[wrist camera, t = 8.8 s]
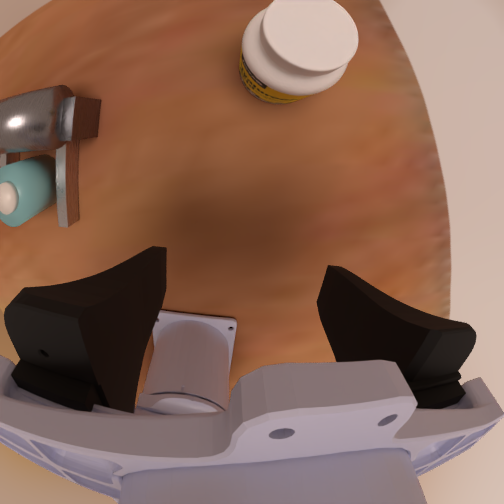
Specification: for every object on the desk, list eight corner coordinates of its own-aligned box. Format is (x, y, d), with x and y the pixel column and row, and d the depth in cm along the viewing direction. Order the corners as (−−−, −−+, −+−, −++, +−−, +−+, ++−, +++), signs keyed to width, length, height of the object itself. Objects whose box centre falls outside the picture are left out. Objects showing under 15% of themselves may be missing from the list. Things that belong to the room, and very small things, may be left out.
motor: (96, 220, 20) (56, 254, 14) (6, 213, 19) (-35, 238, 13) (102, 89, 16) (56, 80, 10) (5, 106, 14) (-41, 111, 9)
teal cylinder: (65, 206, 20) (29, 229, 15) (28, 207, 19) (-8, 229, 14) (62, 151, 18) (21, 163, 13) (24, 157, 17) (-16, 170, 12)
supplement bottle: (223, 79, 17) (214, 36, 8) (266, 27, 15) (292, -40, 6) (286, 120, 18) (331, 113, 9) (326, 68, 16) (394, 32, 8)
